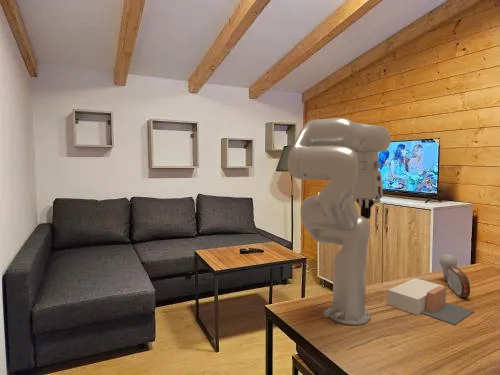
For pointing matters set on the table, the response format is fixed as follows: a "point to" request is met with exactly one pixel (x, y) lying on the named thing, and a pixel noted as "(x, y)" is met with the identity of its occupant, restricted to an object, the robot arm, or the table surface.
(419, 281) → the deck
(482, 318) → the table surface
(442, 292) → the tile
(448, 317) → the mat
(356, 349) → the table surface
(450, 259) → the lightbulb
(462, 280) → the tin
